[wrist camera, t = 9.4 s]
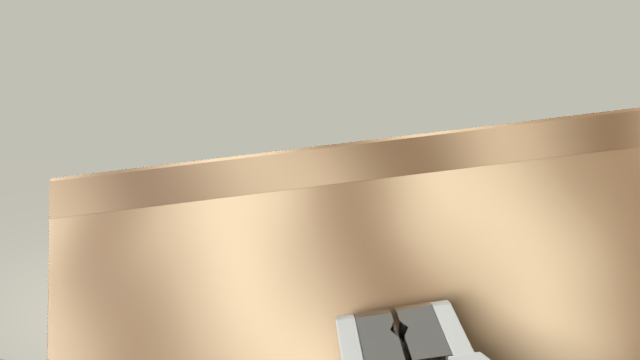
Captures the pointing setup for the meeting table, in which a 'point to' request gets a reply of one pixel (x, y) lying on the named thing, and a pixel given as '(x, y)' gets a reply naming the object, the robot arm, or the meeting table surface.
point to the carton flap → (358, 245)
